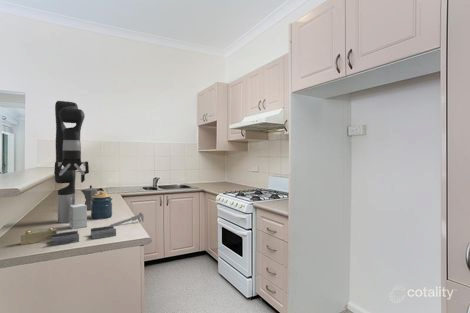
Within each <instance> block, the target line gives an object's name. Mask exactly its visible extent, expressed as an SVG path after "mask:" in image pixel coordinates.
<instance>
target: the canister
mask: <svg viewBox="0 0 470 313" xmlns="http://www.w3.org/2000/svg"><path fill="white" fill-rule="evenodd" d="M92 197H93V199H92V200H91V202H92V204H91V210H90V218H91V219H92V220H104V219H109V218H112V216H113V202H112V200H113V198H112V195H111V194H109V193H106V192H103V191H99V193H97V194H95V195H94V196H92Z"/></svg>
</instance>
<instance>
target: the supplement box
mask: <svg viewBox="0 0 470 313" xmlns="http://www.w3.org/2000/svg"><path fill="white" fill-rule="evenodd" d="M69 227H70V228H71V229H73V230H75V229H80V228H86V227H88V211H87V206H86V205H85V203H80V204H79V203H78V204H75V205H70V222H69Z"/></svg>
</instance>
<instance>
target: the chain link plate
mask: <svg viewBox="0 0 470 313" xmlns="http://www.w3.org/2000/svg"><path fill="white" fill-rule="evenodd" d="M57 231H58V230H57V228H53V227H48V229H43V230H37V231H36V230H35V231H31V230H26V231H25V232H21V233H20V246H22V245H30V244H31V245H32V244H36V243H43V242H49V241H52V234H56V233H58V232H57Z"/></svg>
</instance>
